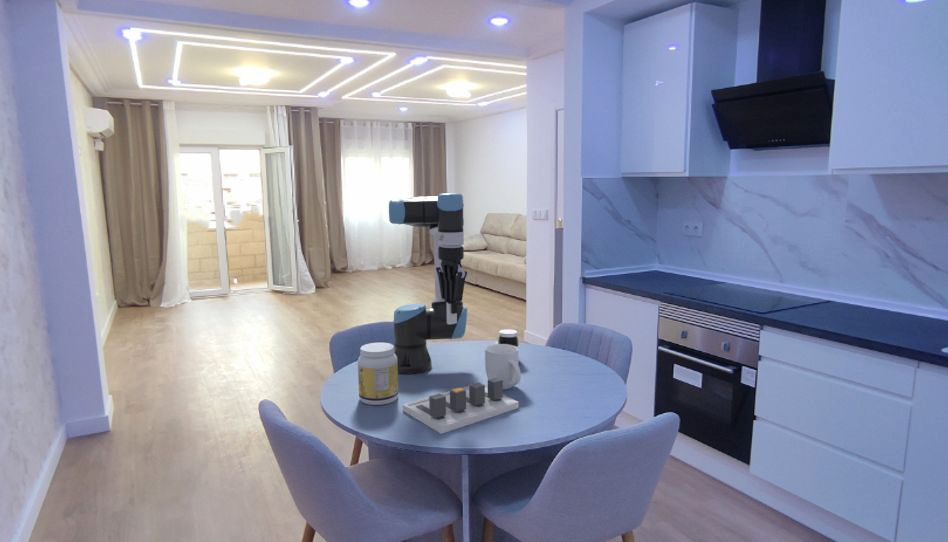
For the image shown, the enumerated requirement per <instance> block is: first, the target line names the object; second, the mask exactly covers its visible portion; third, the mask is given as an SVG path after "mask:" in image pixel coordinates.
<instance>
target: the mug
mask: <svg viewBox="0 0 948 542" xmlns="http://www.w3.org/2000/svg"><path fill="white" fill-rule="evenodd" d="M493 344H494V343H493ZM493 344H491V345H490V344H489V345H488V346H486V347H485V349H484V360H485V361H484V365H485V372H486V373H485V374H486V377H487V381H488V380H489V379H493V378H496V377H497V378H499V379H502V380H503V391H504V390H505V391H506V390H509V389H511V388H512V387H513V386H517V385H519V384H520V383H521V382H520V381H521V377H522V375H521V367H520V365H519V359H520V358H519V347H518V348H517V347H516V346H513V345H508V344H494V345H493Z"/></svg>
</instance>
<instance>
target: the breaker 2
mask: <svg viewBox="0 0 948 542" xmlns="http://www.w3.org/2000/svg"><path fill="white" fill-rule="evenodd" d="M462 388H463V387H456V388H453V389H451V390H449V391H450V409H451V410H453V411H455V412H458V411H462V410H465V409H466V391H465V390H464V389H462Z"/></svg>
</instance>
